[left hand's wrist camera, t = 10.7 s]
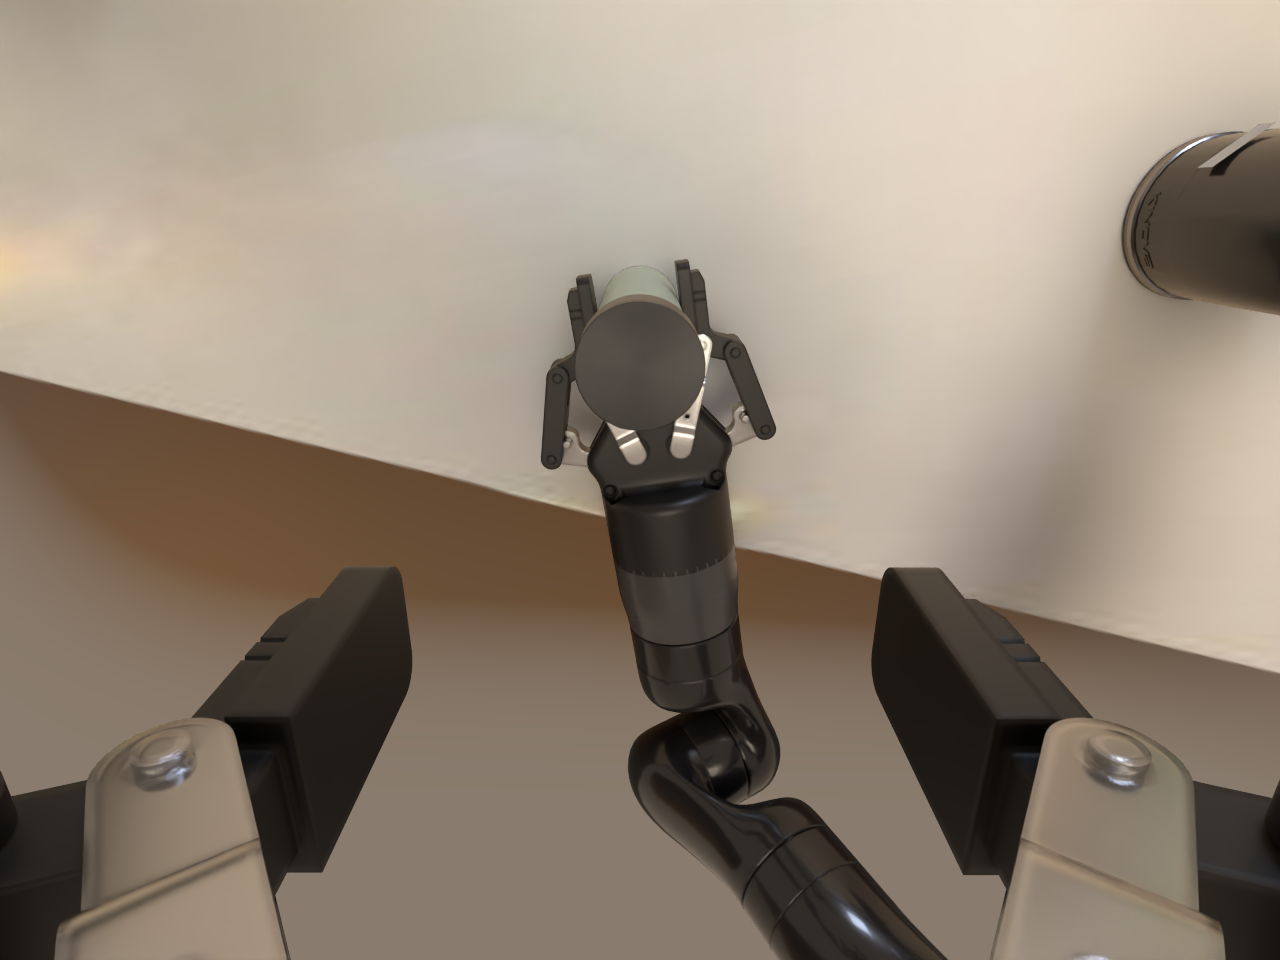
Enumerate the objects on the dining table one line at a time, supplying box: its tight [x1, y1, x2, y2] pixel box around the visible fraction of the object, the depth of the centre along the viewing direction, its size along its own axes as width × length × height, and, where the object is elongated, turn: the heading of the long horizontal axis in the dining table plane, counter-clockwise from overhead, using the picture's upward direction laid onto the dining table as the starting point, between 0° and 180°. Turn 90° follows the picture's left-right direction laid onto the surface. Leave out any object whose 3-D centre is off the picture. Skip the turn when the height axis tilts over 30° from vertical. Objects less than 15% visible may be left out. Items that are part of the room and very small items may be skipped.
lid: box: [574, 294, 706, 431], centre depth 29 cm, size 5×5×2 cm
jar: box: [598, 266, 682, 310], centre depth 37 cm, size 5×5×18 cm
